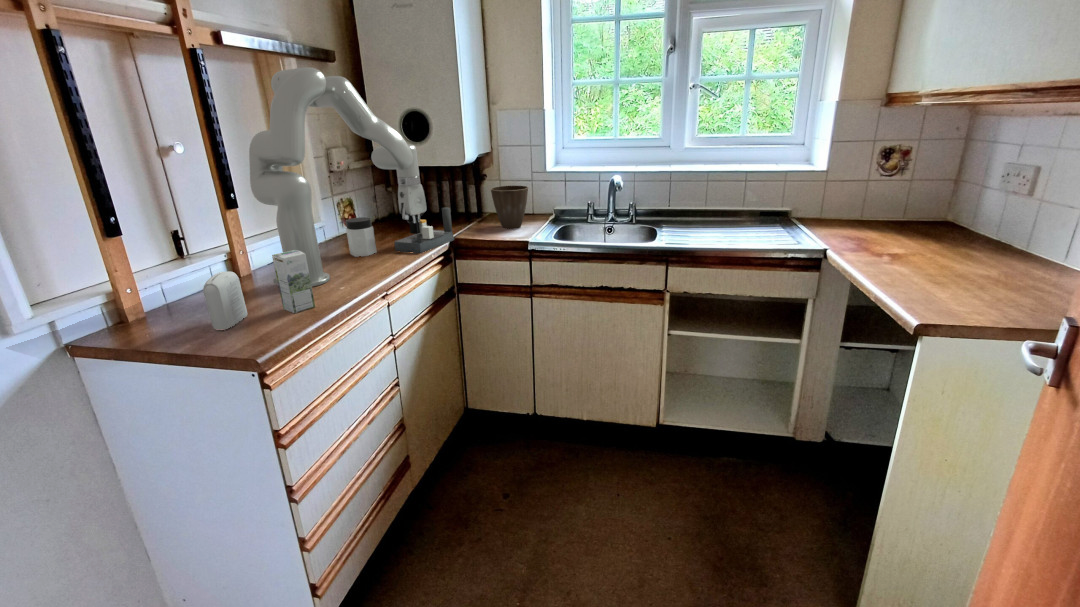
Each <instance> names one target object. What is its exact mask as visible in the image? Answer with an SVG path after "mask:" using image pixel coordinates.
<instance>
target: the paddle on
mask: <svg viewBox="0 0 1080 607" xmlns="http://www.w3.org/2000/svg"><path fill="white" fill-rule="evenodd" d="M419 225H420V233H418V234H422V228H421V227H424V226H428V224H427V219H421V218H420V222H419Z"/></svg>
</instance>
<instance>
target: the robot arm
mask: <svg viewBox="0 0 1080 607" xmlns="http://www.w3.org/2000/svg"><path fill="white" fill-rule="evenodd" d="M270 86H271V89H272V92H273V94H274V95H273V96H272V100H271V103H270V108H269V109H270V111H269V112H270V113H269V129H268V130H262V131H259V132H257V133H256V134H255V135H253V137H252V139H251V141H250V144H249V151H248V153H249V154H248V157H249V158H248V160H249V183H250V188H251V192H252V195H253V197H254V198H255V199H256V200H257V201H258V202H260V203H261V204H263V205H267V206H274V207H275V206H277V211H276V227H277V232H278V237H279V241H280V245H281V251H282V253H283V252H287V251H292V250H298V251H301V252H303V253H305V254H306V260H307V265H308V270H309V276H310V281H311V286H312V288H313V287H316V286H320V285H323V284H325V283H327V282H329V281H330V279H331V275H330V273H327V272H324V269H323V263H322V258H321V253H320V248H319V242H318V238H317V237H318V236H317V231H316V227H315V222H314V217H313V204H312V200H313V197H312V196H313V193H312V186H311V184H310V182H309V181H308V180H307V179H306V177H304V176H303V175H301V174H300V173H298V172H294V171H287V170H286V171H285V170H284V167H296V166H299V165H300V164H302V163H303V162H304V160H305V157H306V155H305V154H306V127H305V126H306V114H307V111H308V109H309V107H311V108H313V107H314V108H320V109H322V108H323V109H324V108H333V109H334V110H335V111H336V113H337V114H338V115H339V117H340V118H341V119H342V120H343V121H344V122H345V124H346V126H347V127H348V128H349V129H350V131H351V132H352V133H354V134H356V135H357V136H359V137H361V138H364V139H367V140H370V141H371V142H375V143H376V144H378V145H379V146H377V147H375V148H374V149H373V151H372V152H371V157H370V159H371V161H372V163H373V165H375V167H377V168H378V169H381V170H396V176H397V184H398V188H397V198H398V200H397V201H398V202H397V203H398V210H399V214H400V215H401V216H402V220H406V221H407V223H408V224H409V225H408V226H409V231H410V234H411V235H414V234H418V233H420V225H419V222H420V219H421V216H423V215H424V213H425V212H426V211H427V207H428V206H427V202H426V196H425V190H424V187H423V185H422V184H421V178H420V169H419V161H418V152H417V147H416V145H414V144H409V143H407V142H406V140H405V139H404V137H403V136H402V135H401V134H400V133H399V131H397V130H396V129H395V128H393V127H392V126H391V125H389V124H388V123H386V122H385V121H384V120H382V119H380V118H379V117H377V116H376V115H375V114H374V113H373V111H372V109H370V107H369V106H368V104H367V103H366V102H365V100H364V99H363V98H362V97H361V95H360V94H359V92H358V91H357V89H356V88H355V87H354V86H353V84H352V83H351V82H350V80H348V79H347V78H346V77H344V76H340V75H330V76H325V74H324V73H323V72H322V71H321V70H319V69H317V68H315V67H312V66H311V67H310V66H309V67H307V66H306V67H296V68H289V69H282V70H279V71H277V72H276V73H274V74H273V75H272V77H271V81H270ZM272 282H273V284H274V285H276V286H278V281H277V277H275V278H273V281H272Z"/></svg>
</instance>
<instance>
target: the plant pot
mask: <svg viewBox="0 0 1080 607" xmlns="http://www.w3.org/2000/svg"><path fill="white" fill-rule="evenodd" d="M490 192H491V198H492V202H493V206H494V209H495V212H496V214H497V218H498V219H499V220H498V221H499V222H500V225H501V227H502V229H504V230H517V229H520V228H521V227H522V224H523V222H524V216H525V213H526V209H527V204H528V203H527V201H528V195H529V194H528V193H529V187H528V186H527V185H500V186H495V187H491V188H490Z"/></svg>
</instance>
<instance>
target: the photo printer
mask: <svg viewBox="0 0 1080 607" xmlns="http://www.w3.org/2000/svg"><path fill="white" fill-rule="evenodd" d="M202 292H203V296H204V299H205V304H206V307H207V310H208V314H209V318H210V322H211V325H212V329H213V330H214V329H219V330H220V329H227V328H230V327H231V328H233V327H234V326H236V325H237V324H239V323H240V322H241V321H243V318H244V319H245V318H246V317H248V310H247V309H248V308H247V306H246V302H245V297H244V294H243V290H242V286H241V281H240V278H239V276H238V275H237V274H236V273H235V272H233V271H231V270H230V271H220V272H217V273H215V274H214V275H212V276H211V277H210V278H209V279H207V281H206V282H205V283H204V285H203V287H202ZM239 321H240V322H239ZM235 324H236V325H235ZM232 326H233V327H232ZM231 328H230V329H231Z"/></svg>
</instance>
